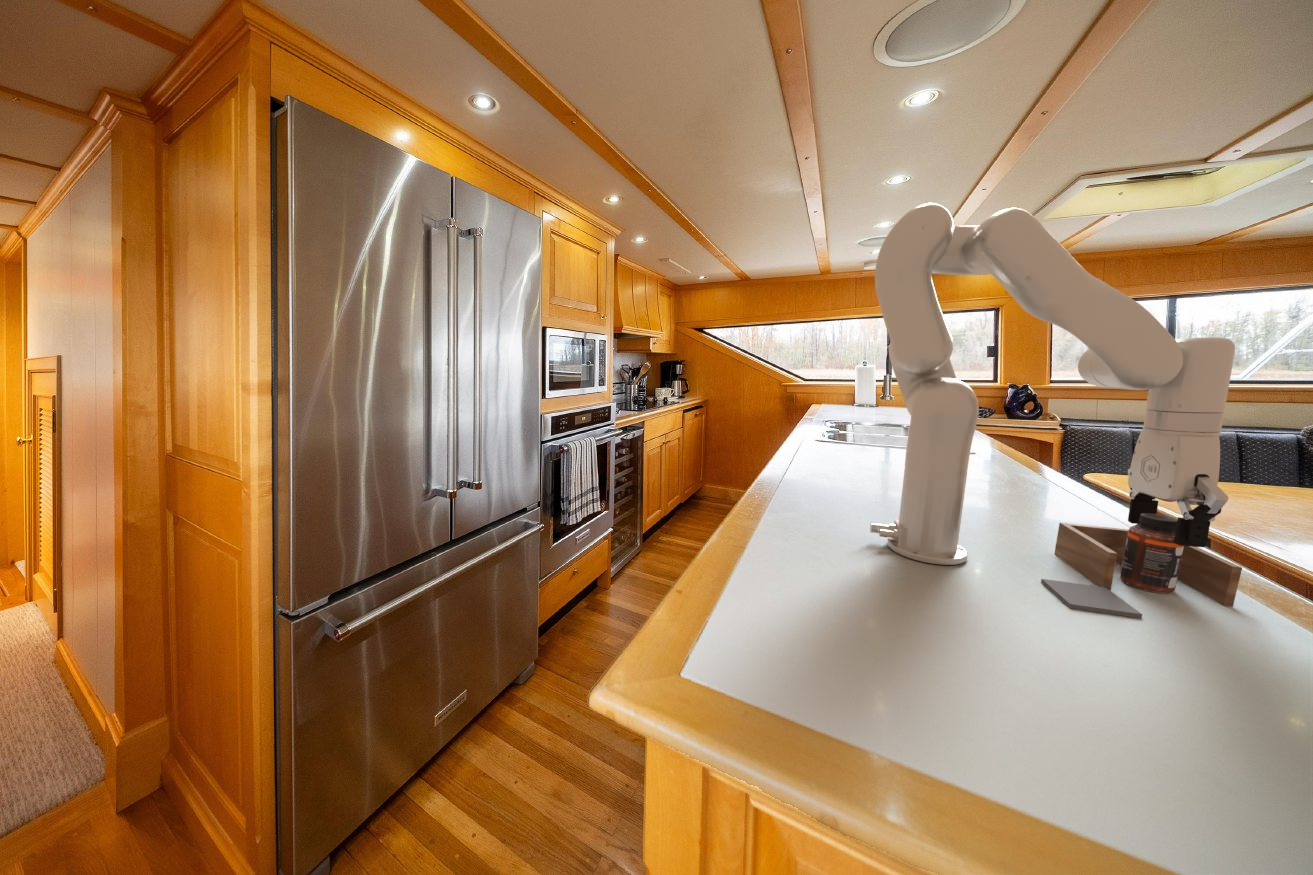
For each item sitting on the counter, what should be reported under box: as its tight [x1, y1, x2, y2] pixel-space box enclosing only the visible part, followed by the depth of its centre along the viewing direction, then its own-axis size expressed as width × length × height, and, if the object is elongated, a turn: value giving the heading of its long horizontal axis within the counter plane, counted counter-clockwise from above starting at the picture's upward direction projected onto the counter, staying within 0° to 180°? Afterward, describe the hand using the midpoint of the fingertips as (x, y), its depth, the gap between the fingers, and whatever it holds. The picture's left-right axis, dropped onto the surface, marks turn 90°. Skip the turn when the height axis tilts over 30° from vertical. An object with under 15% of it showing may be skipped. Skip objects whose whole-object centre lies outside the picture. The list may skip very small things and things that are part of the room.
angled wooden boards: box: [1054, 522, 1243, 608], centre depth 73 cm, size 15×14×6 cm
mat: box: [1040, 578, 1143, 619], centre depth 66 cm, size 8×8×1 cm
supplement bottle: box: [1119, 513, 1184, 594], centre depth 69 cm, size 6×6×11 cm
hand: (1163, 533), depth 69 cm, fingers open, 9 cm apart
